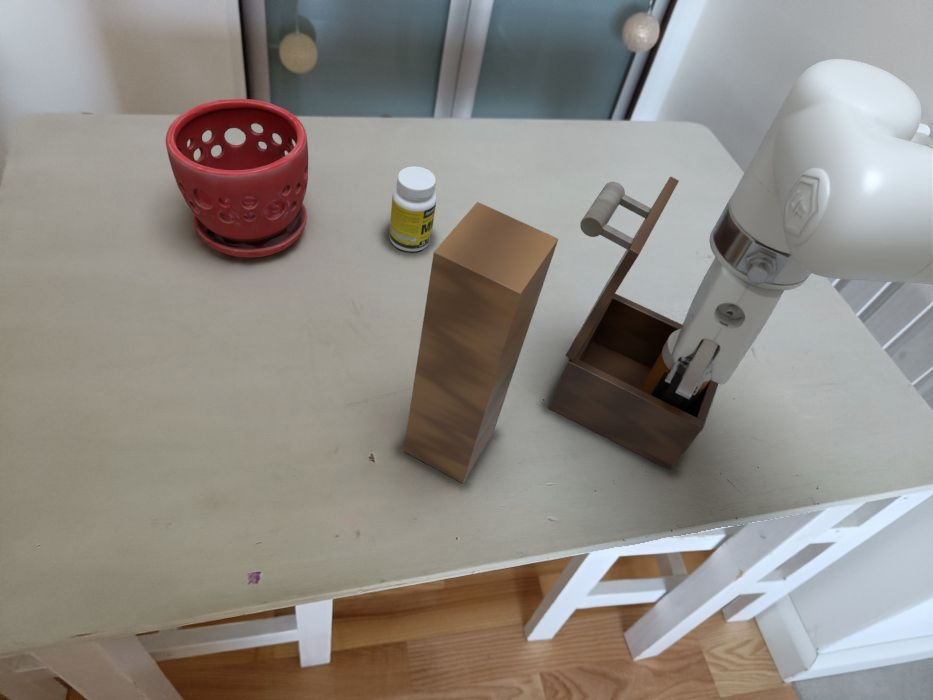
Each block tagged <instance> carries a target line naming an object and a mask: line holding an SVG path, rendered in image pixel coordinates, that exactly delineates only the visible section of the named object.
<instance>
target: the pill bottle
mask: <svg viewBox="0 0 933 700" xmlns="http://www.w3.org/2000/svg"><path fill="white" fill-rule="evenodd" d="M680 330H681V329H679V330H676V331H674V332H673V333H672V334H671V335H670V336H669V338H668V340H667V341H666V343H665V345H664V347H663V349H662V352H661V354H660V356H659V357H658V359H657V361H656V362H655V364H654V366H653V368H652V369H651V371H650V373H649V374H648V376H647V378H646V379H645V381H644V383H643V385H642V386H641V388H640V390H642V391H644V392H646V393H648V394H650V395H651V393H652V392H653V390H654V388H655V387H656V385H657V383H658V382H659V380H660V379H661V377H662V375H663V374H664V372H667V373H668V372H669V370H670V369H671V367H672V365H673V363H674V361H673V359H672V352H673V349H674V347H675V344H676V341H677V339H678V336H679V333H680ZM694 353H695V352H693V355H694ZM687 367H688V366H687V365H685V364H683V363H682V365H681V366H680V368H679V370H678V372H677V373H679V374H681V375H683V374H684V372H685V370H686V368H687ZM710 380H711V371H710V373H709V374H708V376H707V377H706V379H705V380H704V382H703V384H702V385H701V387H700V389H699V392H698V394H697V395H696V396H695V398H694V399H693V401H692V402H691V403H690V405H689V406H688V408H687V409H686V411H685V412H686V413H687V412H688V411H689V409H690V408H691V406H692V405H693V404H694V402H695V401H696V399H697V398H698V397H699V395H700V394H701V392H702V391H703V390H704V388H705V387H706V385H707V384H708V383H709V381H710Z"/></svg>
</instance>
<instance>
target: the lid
mask: <svg viewBox="0 0 933 700" xmlns="http://www.w3.org/2000/svg"><path fill="white" fill-rule="evenodd" d="M679 182H680V180H679V179H677V178H675V177H673V176H669V178H668V180H667V181H666V183H665V184H664V186H663V187H662V190H661V191H660V193H659V194H658V196H657V198H656V200H655V201H654V203H653V204H652V206H651V207H650V206H648V205H646V204H644V203H642V202H640V201H638V200H636V199H634V198H633V197H631V196H628V195H627V194H626V191H625V190H626V189H625V188H624V186H623V185H622V184H621V183H619V182H617V181H609V182H607V183H606V184H605V185H604V186H603V188H602V189H601V191H600V192H599V194H598V195H597V196H596V197H595V199H594V201H593V202H592V204H591V205H590V207H589V209H588V210H587V211H586V213H585V215H584V216H583V218H582V219H581V221H580V225H579V226H580V230H581V232H582V233H583V234H584V235H586V236H587V237H589V238H597V237H599V236H601V237H603V238H605V239H607V240H609V241H611V242H612V243H614V244H616V245H618V246H619V247H621V248H623V249H625V251H624V253H623V255H622V256H621V258H620V260H619V261H618V263H617V265H616V266H615V268H614V270H613V271H612V273H611V274H610V276H609V278H608V279H607V281H606V283H605V285H604V287H602V290H601V292H600V293H599V295H598V297H597V299H596V301H595V303H594V304H593V306H592V308H591V309H590V311H589V313H588V314H587V316H586V318H585V320H584V322H583V324H582V325H581V327H580V329H579V331H578V332H577V334H576V336H575V338H574V339H573V341H572V343H571V345H570V346H569V348H568V350H567V351H566V354H565V357H566V358H568V359H569V358H570V359H572V360H574V358H575V357H576V355H577V353H578V352H579V350H580V349H581V347H582V345H583V344H584V342H585V341H586V339H587V337H588V336H589V334H590V333H591V331H592V329H593V328H594V326H595V325H596V323H597V321H598V320H599V318H600V317H601V315H602V313H603V312H604V310H605V309H606V307H607V305H608V304H609V302H610V300H611V299H612V297H613V296H614V294H615V293H617V292H618V289H619V287H620V286H621V285H622V283H623V281H624V280H625V279H626V276H627V275H628V273H629V272H630V270H631V268H632V267H633V265H635V262H636V260H637V259H638V257H639V256H640V254H641V252H642V250H643V248H644V247H645V245H646V243H647V241H648V239H649V238H650V236H651V234H652V232H653V230H654V228H655V226H656V225H657V223H658V221H659V219H660V217H661V215H662V214H663V212H664V210H665V208H666V206H667V205H668V202H669V200H670V199H671V197H672V196H673V193H674V191H675V190H676V187H677V186H678V184H679ZM619 206H621V207H623V208H625V209H627V210H628V211H630V212H632V213H633V214H636V215H638V216H640V217H642V218H643V221H642V223H641V224H640V226H639V228H638V230H637V231H636V232H635V235H634V236H633V237H631V236H629V235H628V234H626V233H624V232H623V231H620V230H618V229H616V228H615V227H613V226H611V225H610V224H609V222H610V220H611V219H612V217H613V215H614V213H615V212H616V211H617V209H618V208H619Z"/></svg>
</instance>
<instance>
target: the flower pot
mask: <svg viewBox="0 0 933 700" xmlns="http://www.w3.org/2000/svg"><path fill="white" fill-rule="evenodd" d="M297 117H298V116H296V115H294V114H293V113H292V112H291V111H289V110H287V109H285V108H283V107H281V106H279V105H276V104H273V103H270V102H266V101H263V100H257V99H251V98H227V99H218V100H213V101H208V102H205V103H202V104H198V105H197V106H194V107H192V108H189V109H188V110H186V111H184V112H183V113H181V114H180V115H178V116H177V117H176V118H175V119H174V120H173V121H172V123H171V124H170V125H169V127H168V129H167V132H166V135H165V147H166V151H167V156H168V160H169V164H170V167H171V171H172V174H173V177H174V180H175V183H176V185H177V188H178V190H179V191H180V193H181V195H182V197H183V199H184V201H185V203H186V205H187V207H188V208H189V210H190V211H191V212H192V214H193V219H192V220H193V227H194V229H195V231H196V234H197V235H198V236H199V238H200V239H201V240H202V241H203V242H204V243H205V244H206V245H208V246H209V247H210V248H212V249H214V250H215V251H217V252H219V253H221V254H225V255H228V256H232V257H237V258H247V259H248V258H260V257H267V256H270V255H274V254H277V253H280V252H281V251H283V250H286V249H287V248H289V247H290V246H292V245H293V244H294V243H295V242H296V241H297V240H298V238H300V236H301V235H302V234H303V232H304V230H305V227H306V224H307V220H308V219H307V218H308V212H307V209H306V206H305V204H304V200H305V197H306V193H307V188H308V180H309V144H308V136H307V131H306V128H305V126H304V125H303V123H302V122H301V120H300V119H298V118H297ZM252 125H258V126H260V127H261V128H262V131H261V132H256V131H255V130H253V128H252ZM231 129H236V130H239V131H241V132H242V133H243V134H244V136H245V139H244V142H242V143H240V144H233V143H230V142H228V140H226V137H225V136H226V132H228V130H231ZM208 131H210V133H211V136H210V138H209V140H207V141H204V140H203V135H204V134H205V133H206V132H208ZM273 134H276V135H278V136H279V137H280V140H281V143H278V142H277V141H275V139H274V137H273ZM188 142H189V145H188ZM261 142H262V143H264V144H265V146H266V148H262V147H261V146H260V144H259V143H261ZM293 142H294V143H295V145H294V143H293ZM216 146H220V150H221V152H220V153H219V154H218V155H215V156H214V155H213V154H212V150H213V148H214V147H216ZM197 150H199V153H200V154H199V157H198V158H197V159H195V152H196V151H197ZM286 152H287V154H286Z"/></svg>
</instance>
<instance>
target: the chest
mask: <svg viewBox="0 0 933 700" xmlns="http://www.w3.org/2000/svg"><path fill="white" fill-rule="evenodd" d="M682 325H683V323H680V322H678V321H676V320H673V319H672V318H669V317H667V316H665V315H662V314H661V313H658V312H656V311H654V310H652V309H650V308H648V307H645V306H643V305H642V304H639V303H638V302H635V301H633V300H631V299H628V298H626V297H624V296H623V295H619V294H617V292H615V294H614V296H613V297H612V299H611V300H610V302H609V304H608V305H607V307H606V309H605V310H604V312H603V313H602V315H601V317H600V318H599V320H598V321H597V323H596V325H595V326H594V328H593V329H592V331H591V333H590V334H589V336H588V337H587V339H586V341H585V342H584V344H583V345H582V347H581V349H580V350H579V352H578V353H577V355H576V357H575V358H574V360H572V359H570V358H568V360H567V362H566V365H565V366H564V369H563V371H562V374H561V375H560V378H559V381H558V383H557V386H556V388H555V390H554V392H553V395H552V398H551V399H550V402H549V404H548V406H547V408H548V409H550V410H552V411H553V412H556V413H557V414H560V415H561V416H563V417H566V418H567V419H569V420H571V421H574V422H575V423H578V424H579V425H581V426H583V427H585V428H587V429H589V430H591V431H593V432H595V433H597V434H599V435H601V436H603V437H604V438H606V439H609V440H611V441H613V442H614V443H616V444H619V445H620V446H622V447H624V448H625V449H628V450H630V451H632V452H634V453H635V454H637V455H640V456H642V457H644V458H646V459H648V460H649V461H651V462H653V463H656V464H658V465H659V466H661V467H663V468H666V469H667V470H669V471H671V470H672V469H673V468H674V467H675V466H676V464H677V463H678V462H679V460H680V459H681V458H682V457H683V455H684V454H685V453H686V451H687V450H688V449H689V447H690V446H691V445H692V444H693V443H694V441H695V440H696V438H697V437H698V436H699V434H700V433H701V432H702V430H703V429H704V427H705V424H706V422H707V419H708V415H709V413H710V410H711V408H712V405H713V401H714V399H715V396H716V393H717V391H718V387H719V384H718V383H716V382H714V381H711V380H710V381H709V383H708V384H707V385H706V387H705V388H704V390H703V391H702V392H701V394H700V395H699V397H698V398H697V399H696V401H695V402H694V404H693V405H692V406H691V408H690V409H689V411H688V412H687V413H686V412H684V411H682V410H680V409H678V408H676V407H674V406H672V405H670V404H668V403H666V402H664V401H662V400H660V399H658V398H656V397H654V396H652V395H650V394H648V393H646V392H644V391H642V390H640V388H641V386H642V385H643V383H644V381H645V379H646V378H647V376H648V374H649V373H650V371H651V369H652V368H653V366H654V364H655V362H656V361H657V359H658V357H659V356H660V354H661V352H662V349H663V347H664V345H665V343H666V341H667V340H668V338H669V336H670V335H671V334H672V333H673V332H674V331H676V330H679V329H681V328H682Z"/></svg>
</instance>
